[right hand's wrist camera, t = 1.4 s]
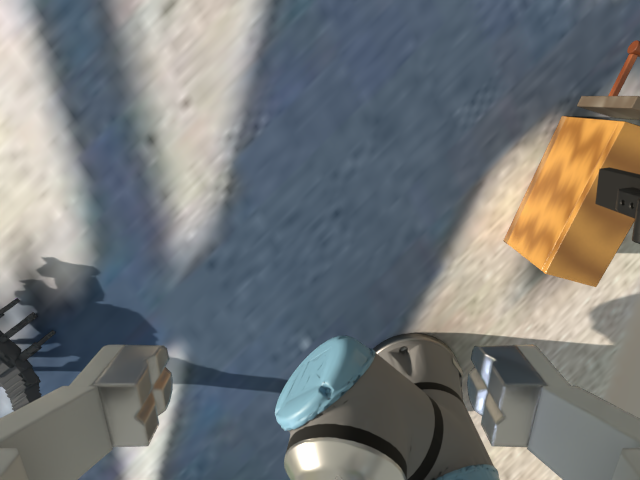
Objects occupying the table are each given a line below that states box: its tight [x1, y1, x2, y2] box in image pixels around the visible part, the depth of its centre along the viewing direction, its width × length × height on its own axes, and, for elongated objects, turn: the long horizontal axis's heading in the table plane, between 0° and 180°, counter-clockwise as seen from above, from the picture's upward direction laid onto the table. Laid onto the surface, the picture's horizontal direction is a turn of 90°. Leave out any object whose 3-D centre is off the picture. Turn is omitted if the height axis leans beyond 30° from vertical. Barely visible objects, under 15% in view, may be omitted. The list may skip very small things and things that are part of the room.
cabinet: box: [504, 116, 640, 287], centre depth 46 cm, size 17×6×11 cm, turn 164°
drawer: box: [577, 41, 640, 120], centre depth 44 cm, size 22×5×9 cm, turn 164°
